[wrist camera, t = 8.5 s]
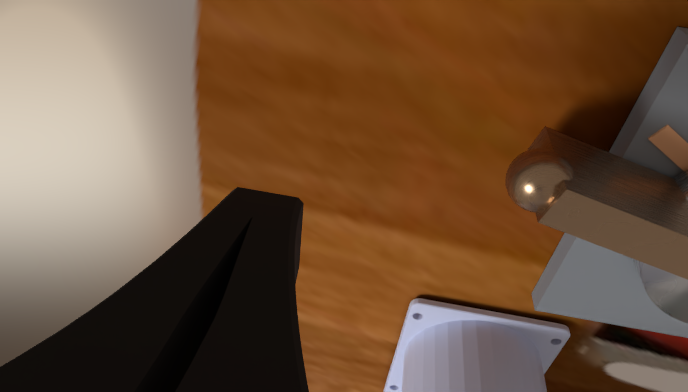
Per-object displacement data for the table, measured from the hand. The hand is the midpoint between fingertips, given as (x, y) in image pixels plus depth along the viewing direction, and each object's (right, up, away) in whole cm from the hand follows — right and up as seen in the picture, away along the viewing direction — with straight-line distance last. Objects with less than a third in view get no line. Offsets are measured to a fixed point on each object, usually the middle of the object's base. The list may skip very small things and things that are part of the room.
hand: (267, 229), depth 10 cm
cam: (+14, +1, +8) cm, 16 cm away
